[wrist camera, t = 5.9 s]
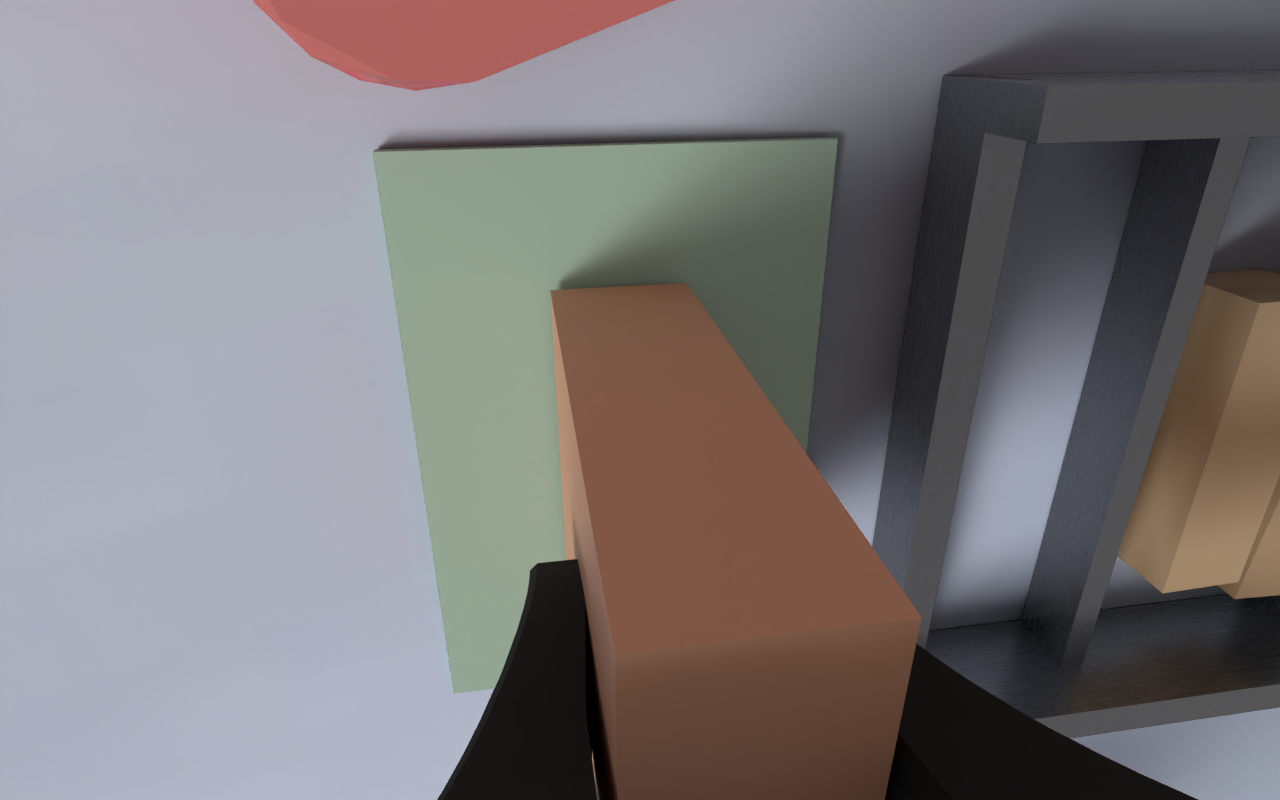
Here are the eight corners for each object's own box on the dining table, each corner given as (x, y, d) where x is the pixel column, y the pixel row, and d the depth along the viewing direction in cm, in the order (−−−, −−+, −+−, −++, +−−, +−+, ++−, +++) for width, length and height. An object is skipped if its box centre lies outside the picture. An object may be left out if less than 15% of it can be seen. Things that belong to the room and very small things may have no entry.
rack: (1261, 611, 22) (1369, 693, 19) (854, 664, 20) (909, 762, 17) (1498, 66, 16) (1706, 73, 13) (943, 75, 14) (1048, 85, 11)
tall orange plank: (679, 584, 17) (831, 1065, 9) (567, 596, 17) (625, 1107, 9) (686, 282, 14) (921, 618, 6) (550, 289, 14) (615, 654, 6)
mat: (783, 643, 19) (786, 652, 19) (454, 683, 18) (453, 693, 18) (831, 137, 14) (837, 138, 14) (375, 149, 13) (372, 151, 13)
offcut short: (1165, 528, 20) (1238, 581, 18) (1095, 537, 20) (1162, 593, 18) (1250, 265, 17) (1349, 294, 15) (1169, 272, 17) (1259, 303, 15)
